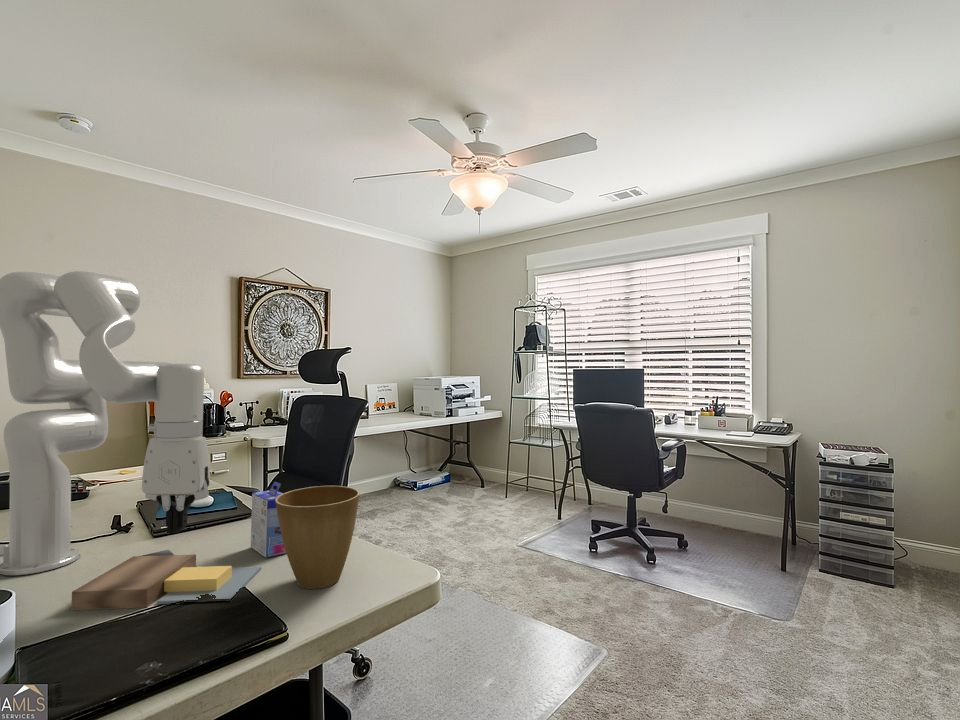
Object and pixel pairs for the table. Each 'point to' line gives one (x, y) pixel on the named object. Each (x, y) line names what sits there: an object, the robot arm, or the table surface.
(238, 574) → the slate mat
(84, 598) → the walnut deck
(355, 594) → the table surface
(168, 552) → the solid state drive
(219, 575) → the ochre block
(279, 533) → the ink cartridge box
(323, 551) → the plant pot
